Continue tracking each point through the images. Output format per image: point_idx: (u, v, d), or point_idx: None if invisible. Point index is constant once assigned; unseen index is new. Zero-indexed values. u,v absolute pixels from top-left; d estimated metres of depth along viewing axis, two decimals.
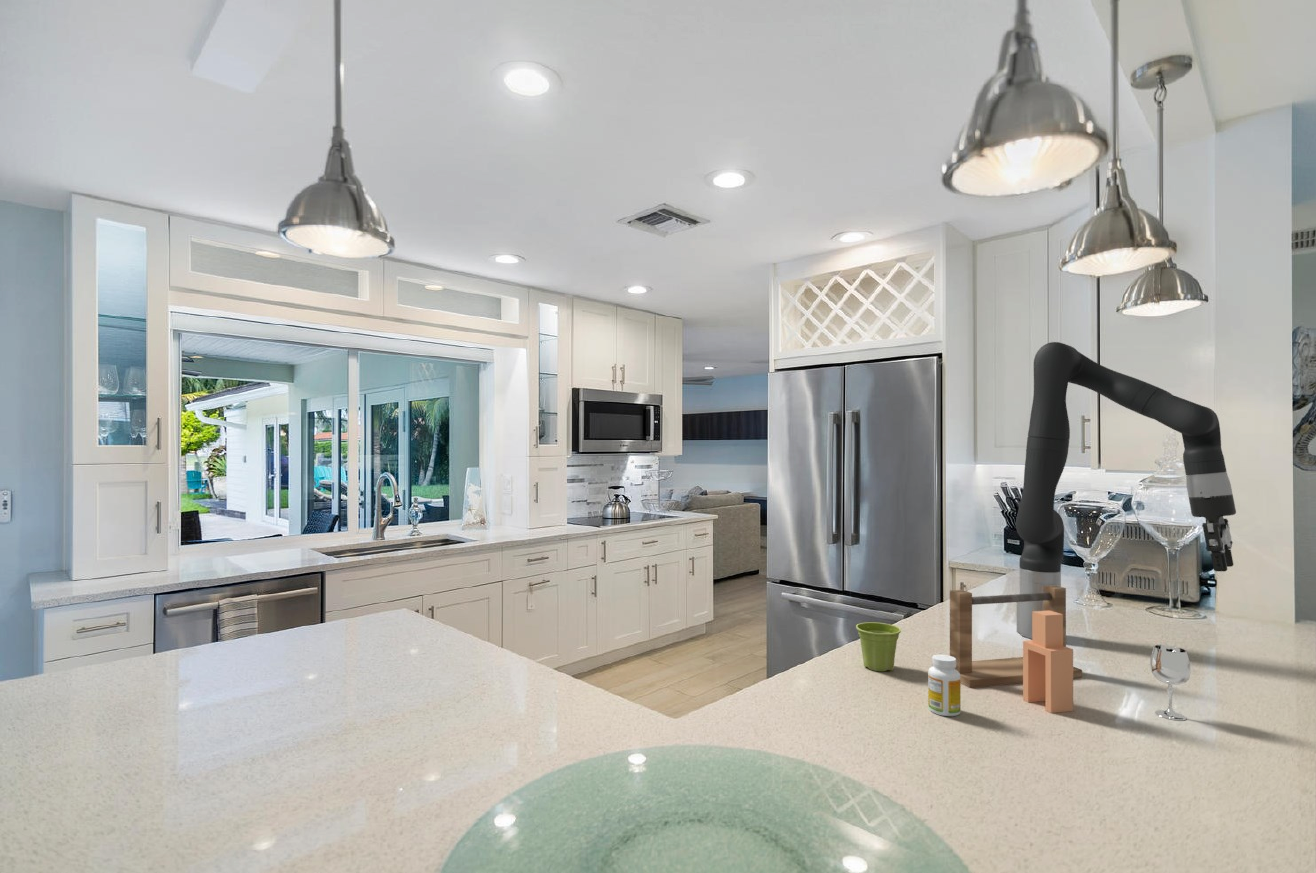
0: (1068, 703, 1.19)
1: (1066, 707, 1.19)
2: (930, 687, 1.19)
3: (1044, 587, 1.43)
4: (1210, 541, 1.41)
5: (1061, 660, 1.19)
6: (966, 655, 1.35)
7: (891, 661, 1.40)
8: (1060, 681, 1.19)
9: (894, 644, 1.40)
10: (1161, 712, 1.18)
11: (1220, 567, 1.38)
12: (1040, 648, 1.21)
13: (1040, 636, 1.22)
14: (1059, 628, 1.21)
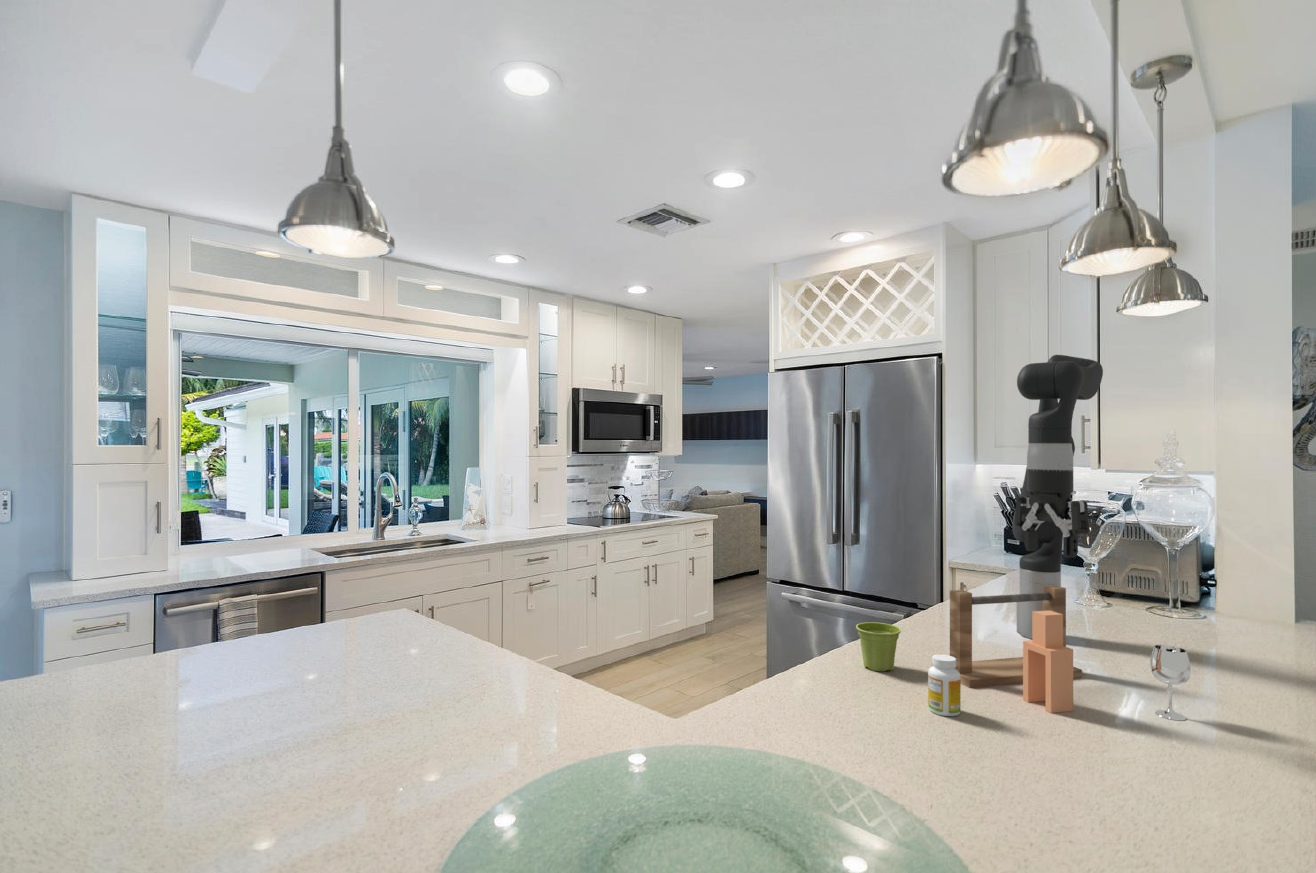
0: (1068, 703, 1.19)
1: (1066, 707, 1.19)
2: (930, 687, 1.19)
3: (1044, 587, 1.43)
4: None
5: (1061, 660, 1.19)
6: (966, 655, 1.35)
7: (891, 661, 1.40)
8: (1060, 681, 1.19)
9: (894, 644, 1.40)
10: (1161, 712, 1.18)
11: None
12: (1040, 648, 1.21)
13: (1040, 636, 1.22)
14: (1059, 628, 1.21)
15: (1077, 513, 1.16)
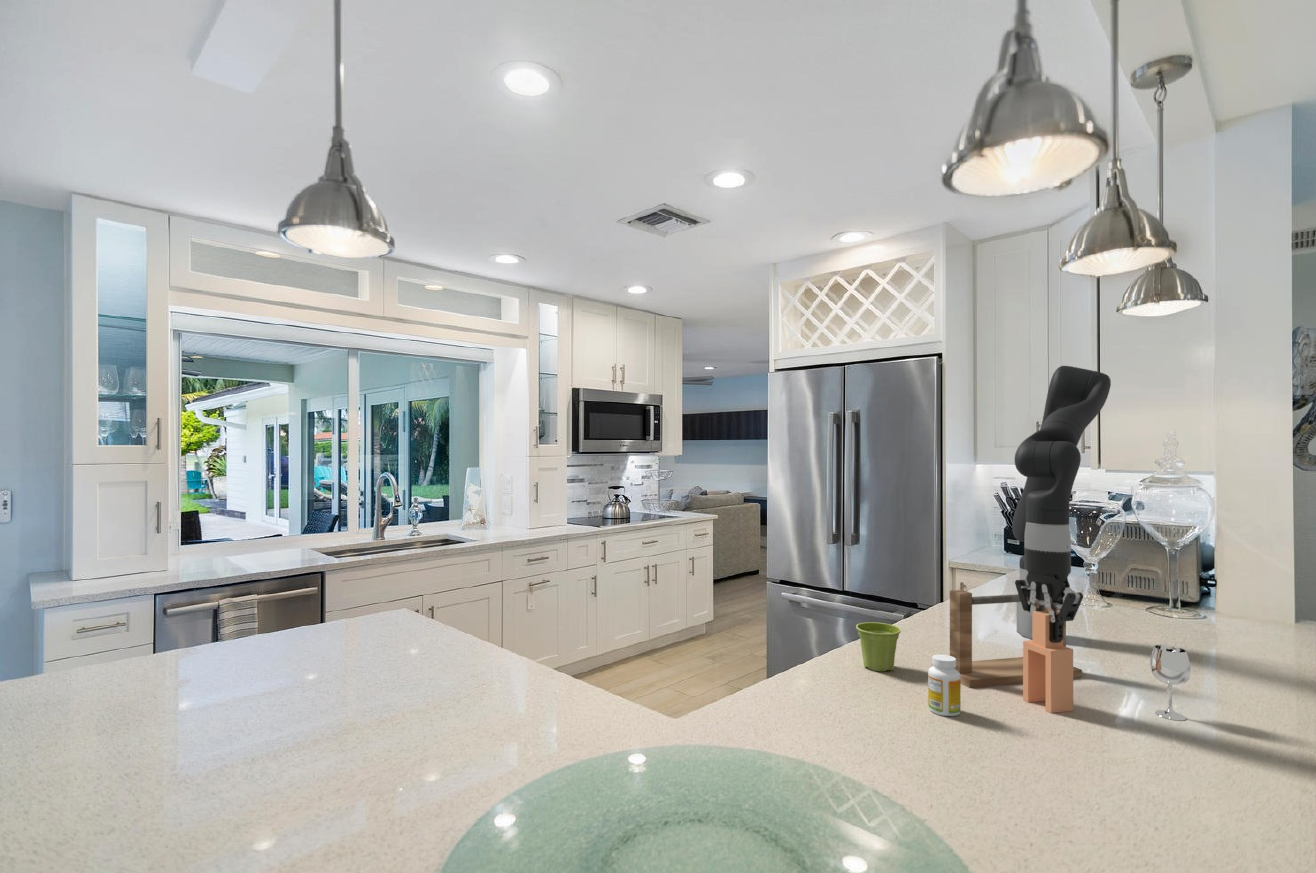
0: (1068, 703, 1.19)
1: (1066, 707, 1.19)
2: (930, 687, 1.19)
3: None
4: None
5: (1061, 660, 1.19)
6: (966, 655, 1.35)
7: (891, 661, 1.40)
8: (1060, 681, 1.19)
9: (894, 644, 1.40)
10: (1161, 712, 1.18)
11: None
12: (1040, 648, 1.21)
13: (1040, 636, 1.22)
14: None
15: (1069, 605, 1.17)
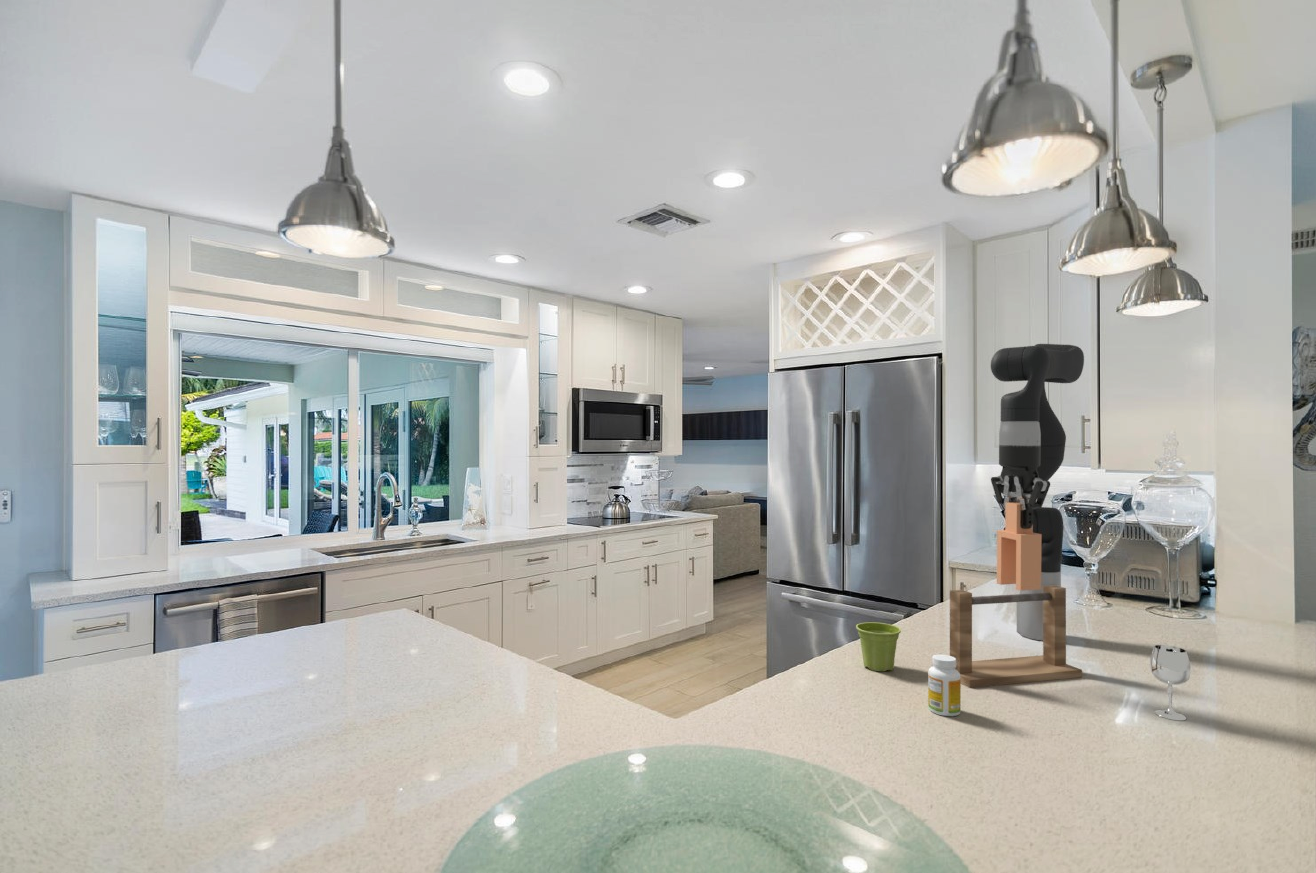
0: (1036, 582, 1.32)
1: (1034, 586, 1.32)
2: (930, 687, 1.19)
3: (1044, 587, 1.43)
4: None
5: (1030, 543, 1.32)
6: (966, 655, 1.35)
7: (891, 661, 1.40)
8: (1029, 562, 1.32)
9: (894, 644, 1.40)
10: (1161, 712, 1.18)
11: None
12: (1012, 534, 1.33)
13: (1012, 524, 1.34)
14: None
15: (1037, 492, 1.29)
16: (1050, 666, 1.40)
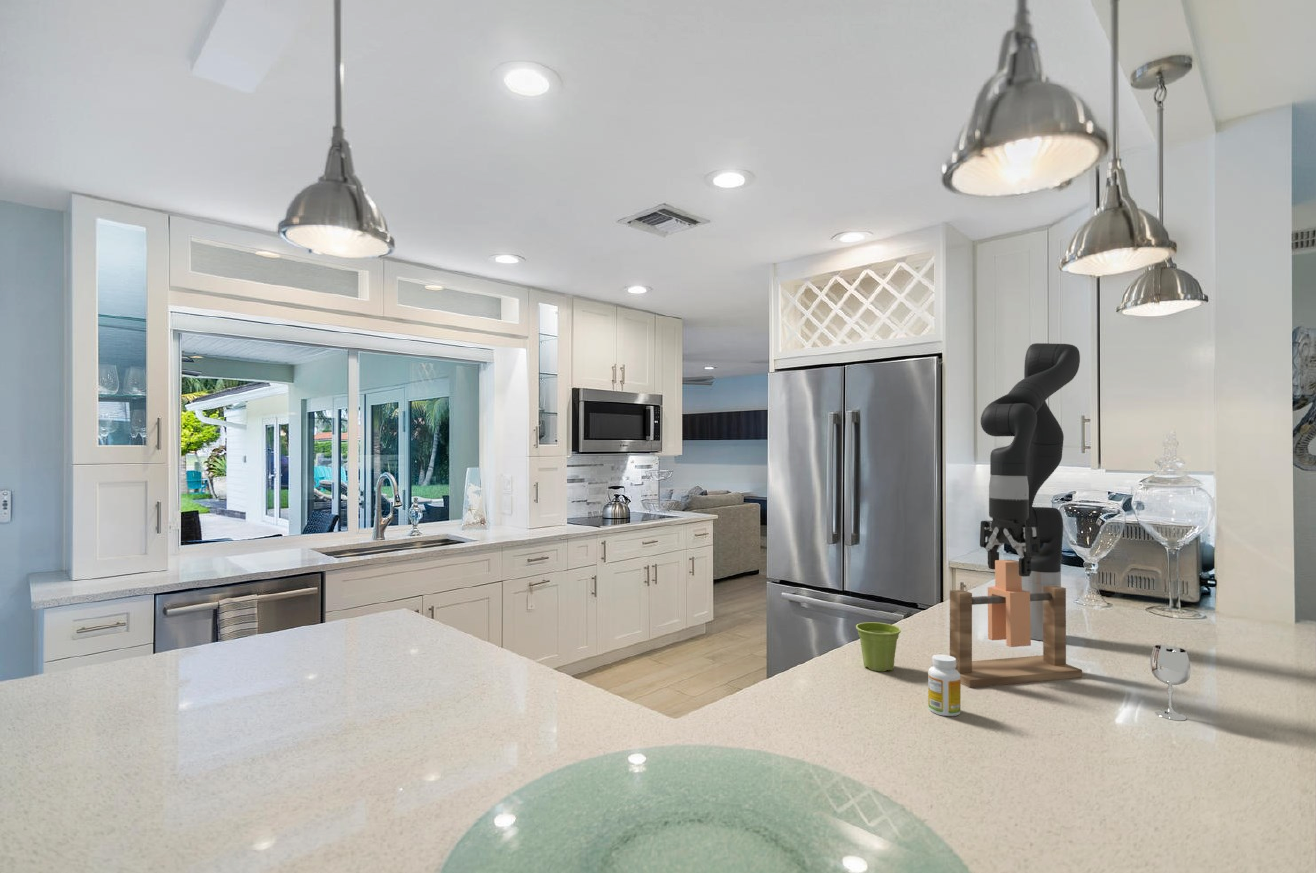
0: (1026, 639, 1.36)
1: (1024, 642, 1.36)
2: (930, 687, 1.19)
3: (1044, 587, 1.43)
4: None
5: (1019, 601, 1.36)
6: (966, 655, 1.35)
7: (891, 661, 1.40)
8: (1018, 619, 1.36)
9: (894, 644, 1.40)
10: (1161, 712, 1.18)
11: None
12: (1001, 591, 1.38)
13: (1001, 581, 1.39)
14: (1018, 574, 1.39)
15: (1030, 538, 1.33)
16: (1050, 666, 1.40)
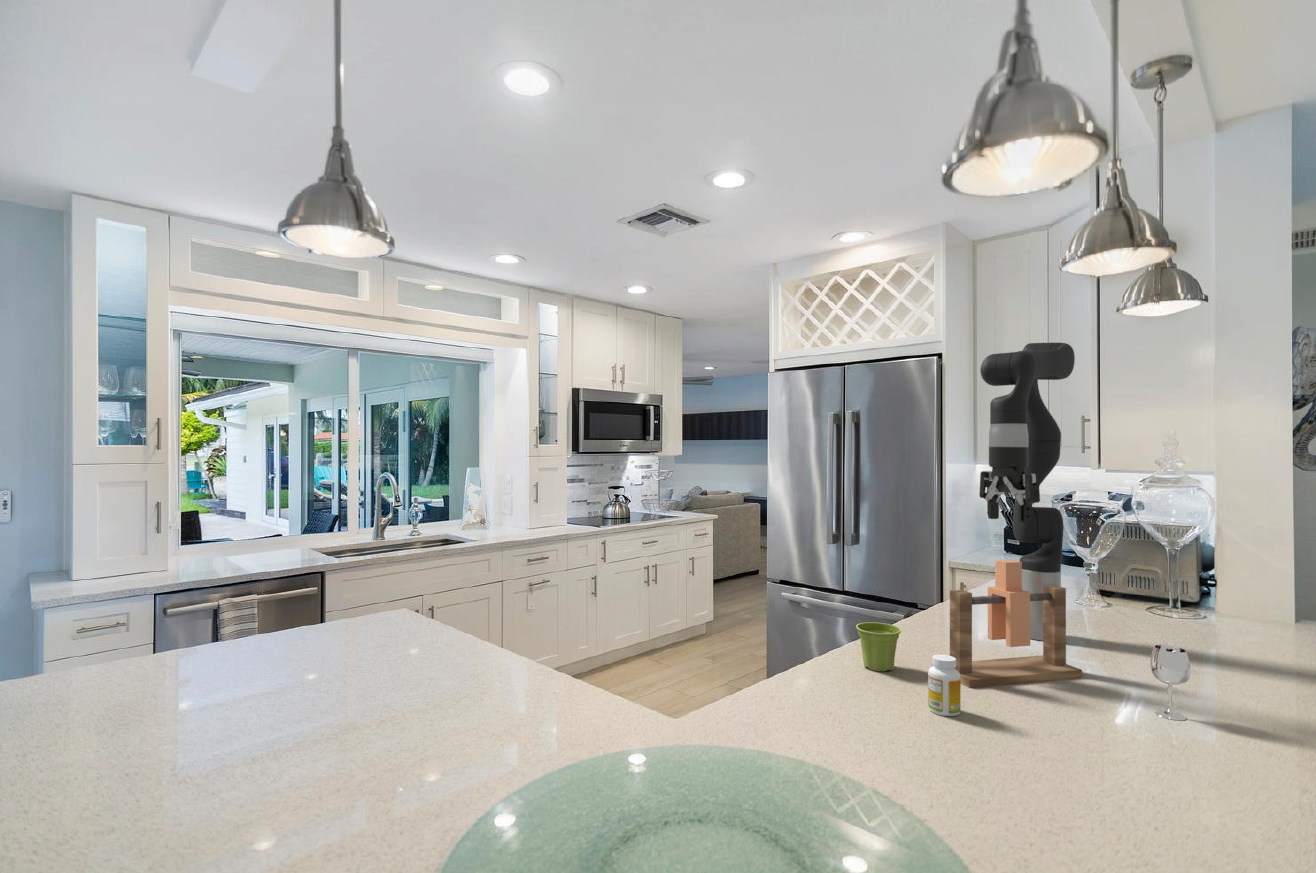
0: (1026, 639, 1.37)
1: (1024, 642, 1.36)
2: (930, 687, 1.19)
3: (1044, 587, 1.43)
4: None
5: (1019, 601, 1.36)
6: (966, 655, 1.35)
7: (891, 661, 1.40)
8: (1018, 619, 1.36)
9: (894, 644, 1.40)
10: (1161, 712, 1.18)
11: None
12: (1001, 591, 1.38)
13: (1001, 581, 1.39)
14: (1018, 574, 1.38)
15: (1029, 484, 1.33)
16: (1050, 666, 1.40)
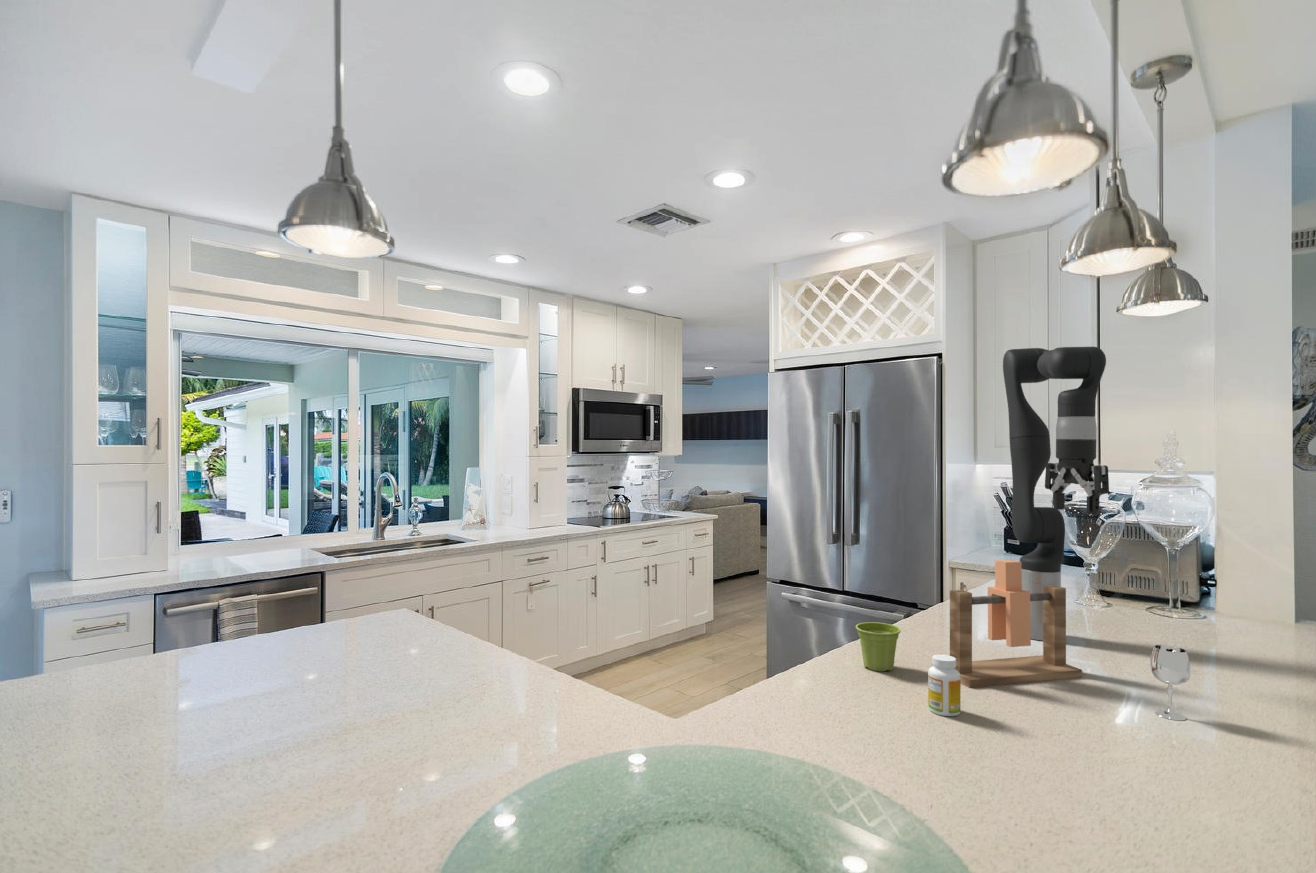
0: (1026, 639, 1.36)
1: (1024, 642, 1.36)
2: (930, 687, 1.19)
3: (1044, 587, 1.43)
4: None
5: (1019, 601, 1.36)
6: (966, 655, 1.35)
7: (891, 661, 1.40)
8: (1018, 619, 1.36)
9: (894, 644, 1.40)
10: (1161, 712, 1.18)
11: None
12: (1001, 591, 1.38)
13: (1001, 581, 1.39)
14: (1018, 574, 1.39)
15: (1099, 475, 1.36)
16: (1050, 666, 1.40)
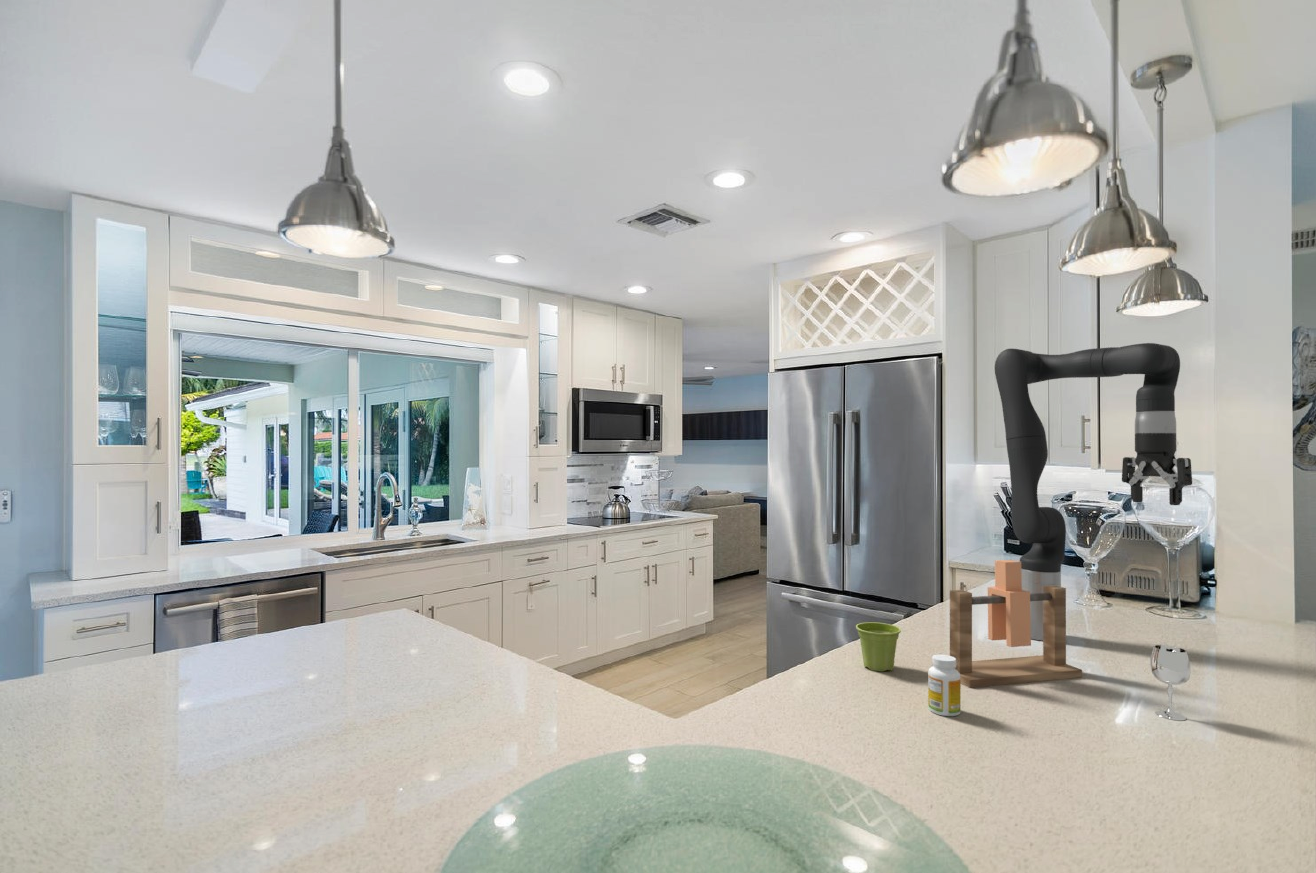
0: (1026, 639, 1.36)
1: (1024, 642, 1.36)
2: (930, 687, 1.19)
3: (1044, 587, 1.43)
4: None
5: (1019, 601, 1.36)
6: (966, 655, 1.35)
7: (891, 661, 1.40)
8: (1018, 619, 1.36)
9: (894, 644, 1.40)
10: (1161, 712, 1.18)
11: None
12: (1001, 591, 1.38)
13: (1001, 581, 1.39)
14: (1017, 574, 1.39)
15: (1183, 467, 1.41)
16: (1050, 666, 1.40)
